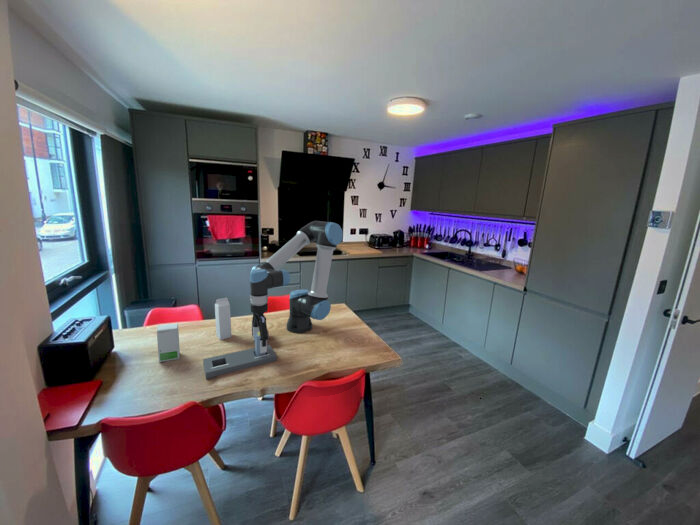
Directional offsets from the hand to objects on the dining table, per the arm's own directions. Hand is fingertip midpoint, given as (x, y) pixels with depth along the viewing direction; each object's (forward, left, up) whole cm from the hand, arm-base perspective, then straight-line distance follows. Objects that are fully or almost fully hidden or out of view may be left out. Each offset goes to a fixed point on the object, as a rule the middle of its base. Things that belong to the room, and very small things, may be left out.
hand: (259, 345), depth 135 cm
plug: (0, 0, -6) cm, 6 cm away
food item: (-4, -18, -7) cm, 20 cm away
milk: (+12, -31, -7) cm, 34 cm away
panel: (+9, 0, -7) cm, 11 cm away
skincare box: (+37, -20, -7) cm, 43 cm away
